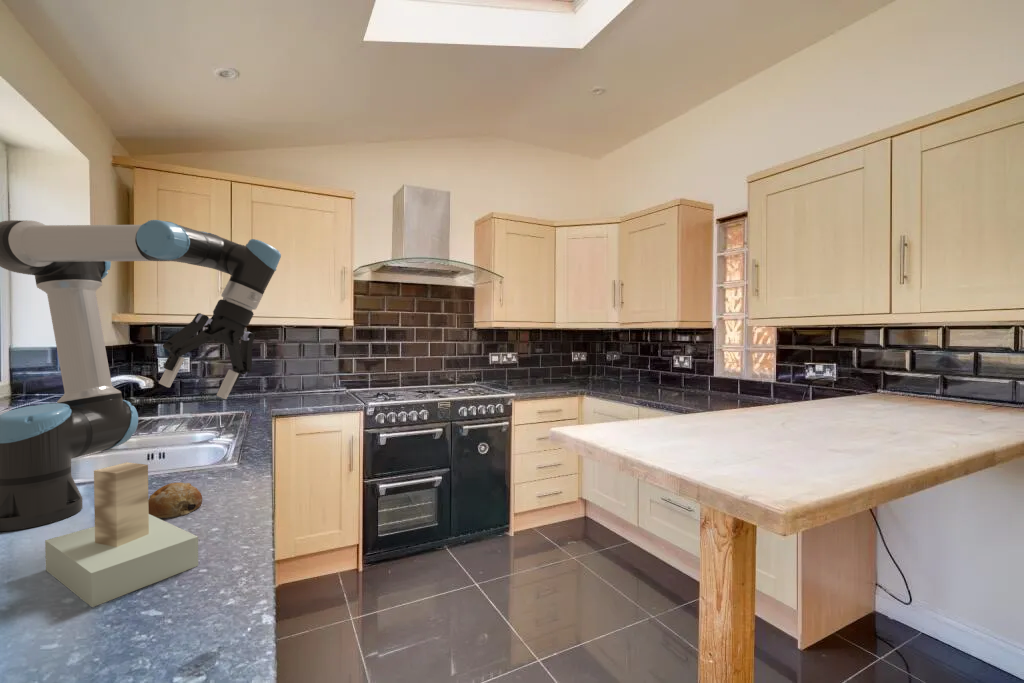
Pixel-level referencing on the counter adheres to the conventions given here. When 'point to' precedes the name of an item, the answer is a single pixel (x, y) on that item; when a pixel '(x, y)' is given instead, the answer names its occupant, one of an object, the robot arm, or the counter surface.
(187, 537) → the block
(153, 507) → the bread roll
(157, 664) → the counter surface
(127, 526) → the birch block
